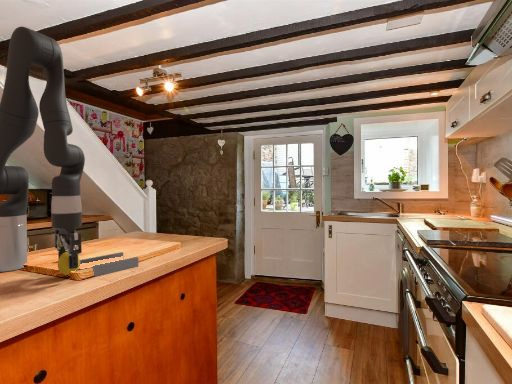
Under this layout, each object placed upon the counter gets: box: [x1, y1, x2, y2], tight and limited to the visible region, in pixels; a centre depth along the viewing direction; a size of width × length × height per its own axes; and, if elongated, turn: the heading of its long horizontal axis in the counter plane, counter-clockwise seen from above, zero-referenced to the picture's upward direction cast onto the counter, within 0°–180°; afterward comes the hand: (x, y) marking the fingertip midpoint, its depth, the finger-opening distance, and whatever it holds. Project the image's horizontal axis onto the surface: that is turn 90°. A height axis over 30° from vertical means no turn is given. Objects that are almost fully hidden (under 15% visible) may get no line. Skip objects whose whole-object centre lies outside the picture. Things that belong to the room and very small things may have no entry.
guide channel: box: [80, 251, 139, 277], centre depth 96 cm, size 11×14×3 cm
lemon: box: [57, 252, 81, 276], centre depth 87 cm, size 6×6×8 cm
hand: (68, 265), depth 86 cm, fingers open, 8 cm apart
